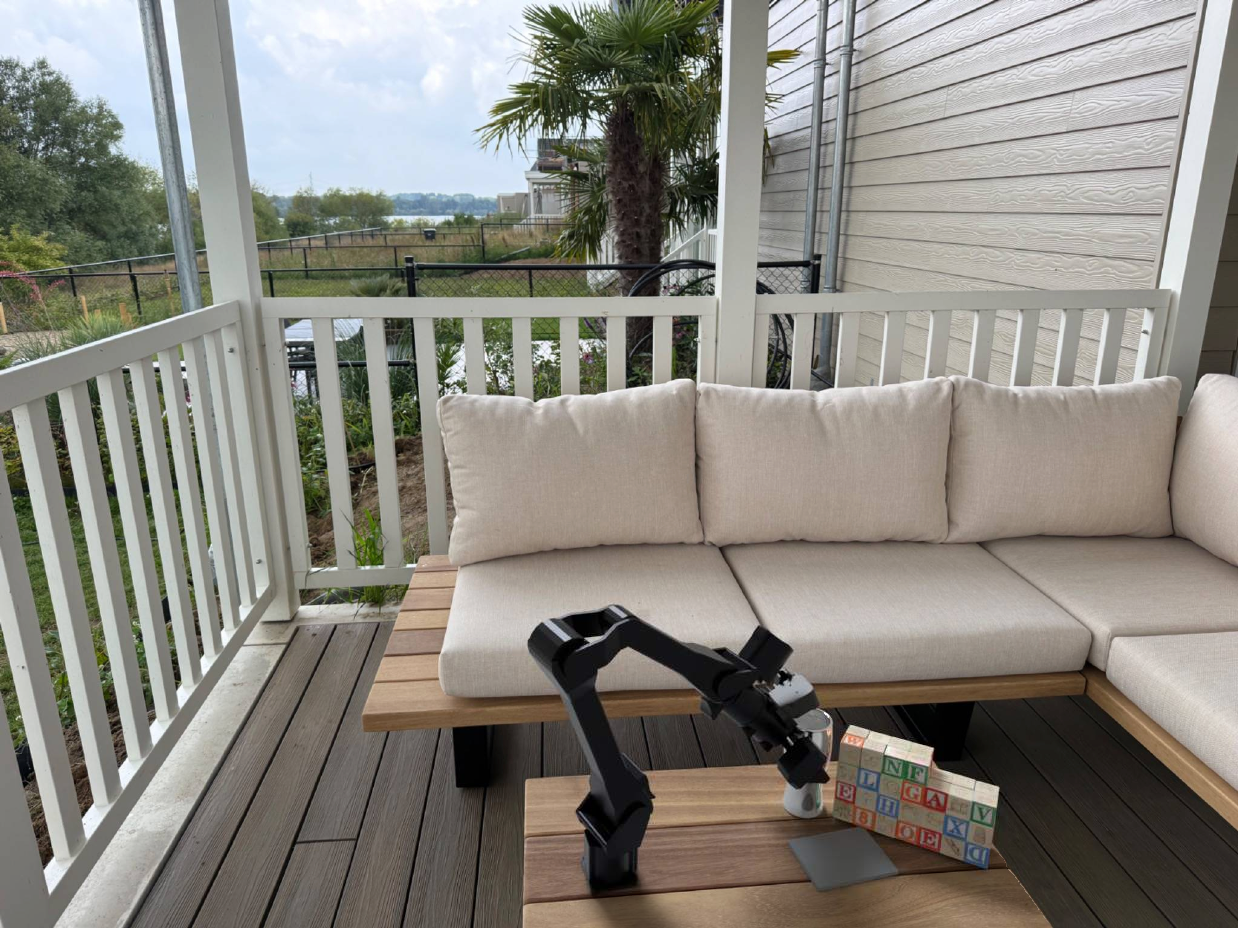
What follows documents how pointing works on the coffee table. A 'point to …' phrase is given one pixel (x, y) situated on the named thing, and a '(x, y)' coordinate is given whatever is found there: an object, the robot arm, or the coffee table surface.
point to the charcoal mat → (841, 858)
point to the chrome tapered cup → (810, 795)
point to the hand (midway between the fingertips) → (812, 761)
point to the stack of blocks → (913, 797)
